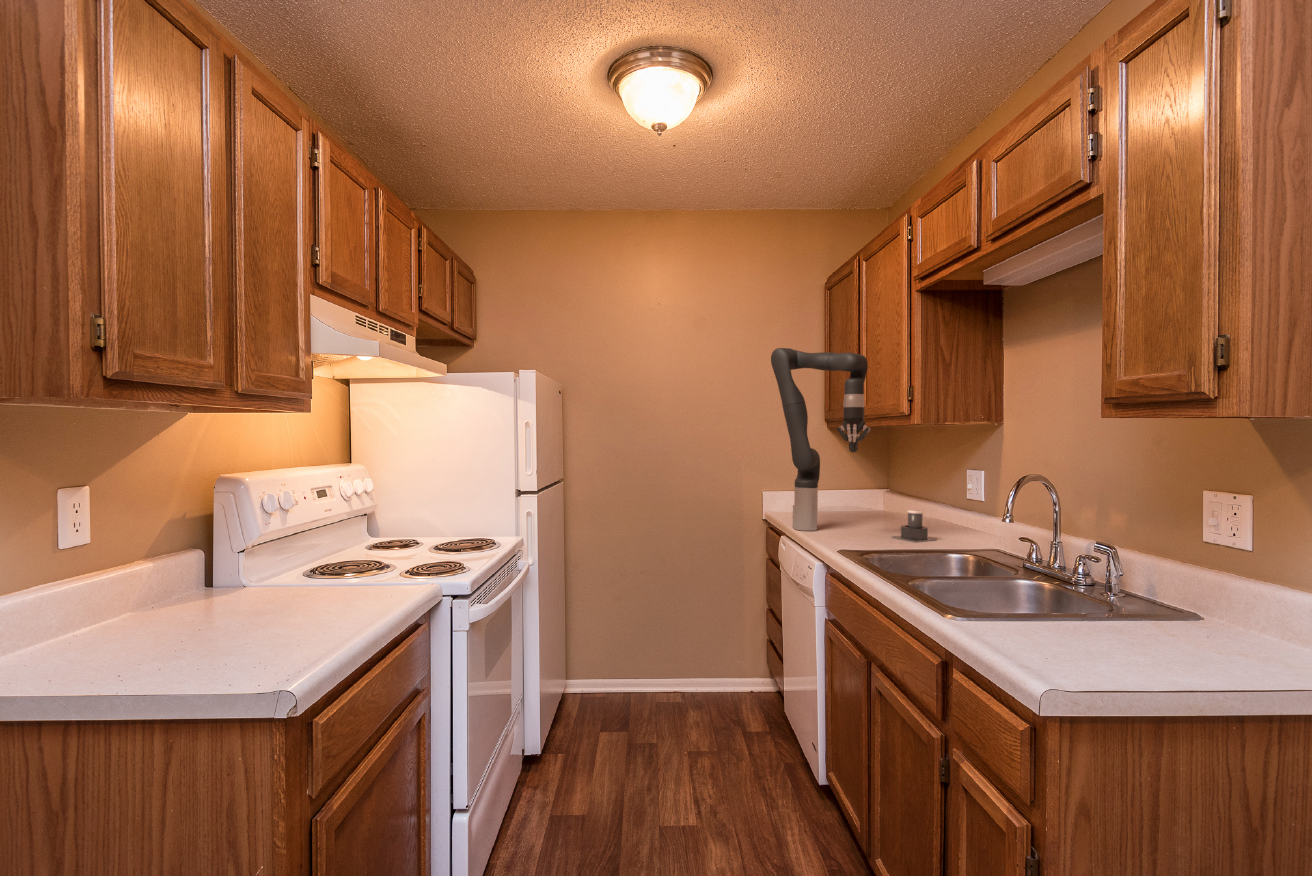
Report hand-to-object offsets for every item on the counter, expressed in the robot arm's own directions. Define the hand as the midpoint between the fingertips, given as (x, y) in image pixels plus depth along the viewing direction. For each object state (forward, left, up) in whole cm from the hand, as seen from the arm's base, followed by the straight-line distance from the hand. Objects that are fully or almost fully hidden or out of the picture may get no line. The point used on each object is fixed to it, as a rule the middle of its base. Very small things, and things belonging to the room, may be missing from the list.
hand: (853, 452), depth 236 cm
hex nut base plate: (+13, +18, -32) cm, 39 cm away
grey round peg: (+13, +18, -32) cm, 39 cm away
